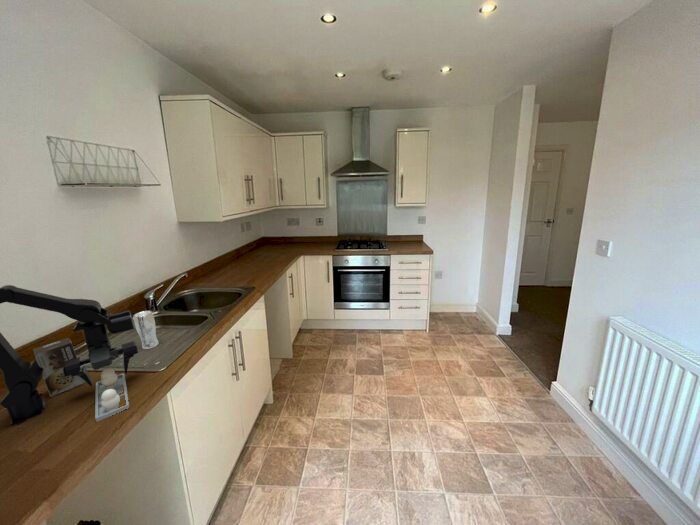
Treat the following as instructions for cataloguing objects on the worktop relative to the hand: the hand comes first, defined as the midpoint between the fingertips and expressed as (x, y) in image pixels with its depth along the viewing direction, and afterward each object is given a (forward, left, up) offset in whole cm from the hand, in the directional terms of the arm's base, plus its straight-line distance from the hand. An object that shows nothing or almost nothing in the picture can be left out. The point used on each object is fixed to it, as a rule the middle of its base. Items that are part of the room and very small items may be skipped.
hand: (109, 379), depth 99 cm
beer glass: (+14, +24, -3) cm, 28 cm away
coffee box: (-12, +12, -3) cm, 17 cm away
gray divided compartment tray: (0, -7, -3) cm, 8 cm away
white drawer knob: (0, -14, -2) cm, 15 cm away
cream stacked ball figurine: (0, 0, -2) cm, 3 cm away
